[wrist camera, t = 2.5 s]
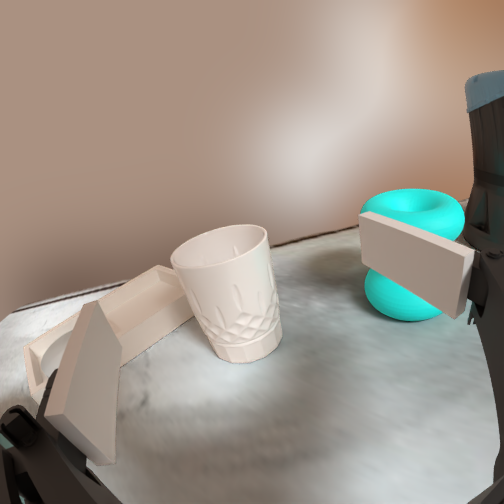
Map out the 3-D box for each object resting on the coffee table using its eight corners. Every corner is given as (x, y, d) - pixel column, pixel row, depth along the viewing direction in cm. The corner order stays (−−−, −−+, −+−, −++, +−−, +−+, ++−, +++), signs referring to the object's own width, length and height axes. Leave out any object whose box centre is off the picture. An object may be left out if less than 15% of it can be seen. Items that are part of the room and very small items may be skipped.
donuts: (336, 210, 23) (387, 182, 28) (345, 307, 27) (392, 263, 32) (449, 228, 15) (473, 191, 20) (435, 341, 19) (466, 282, 24)
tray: (164, 281, 42) (157, 264, 41) (213, 301, 34) (206, 280, 33) (35, 364, 27) (23, 347, 26) (48, 415, 19) (31, 396, 18)
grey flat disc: (91, 324, 33) (87, 318, 32) (114, 350, 27) (109, 343, 26) (41, 358, 27) (36, 352, 27) (52, 394, 21) (47, 387, 20)
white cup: (272, 375, 21) (241, 267, 18) (193, 361, 25) (150, 268, 21) (298, 315, 28) (280, 220, 24) (229, 311, 31) (202, 227, 27)
